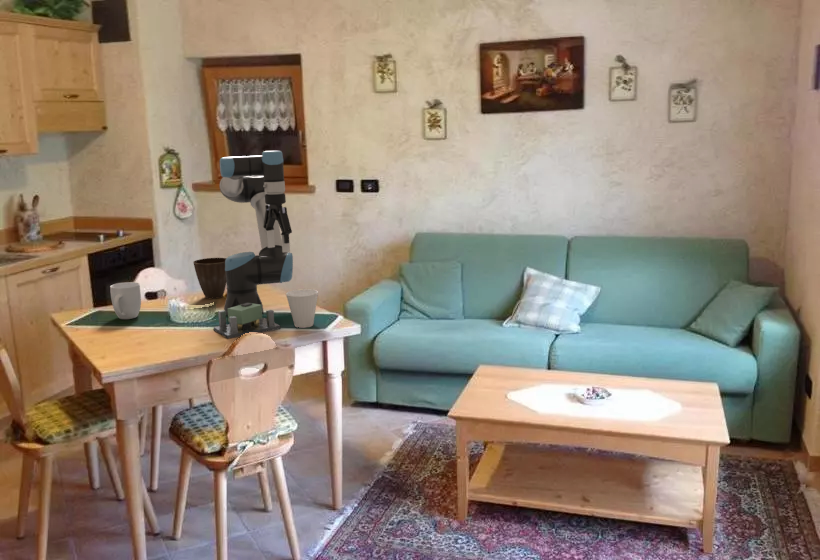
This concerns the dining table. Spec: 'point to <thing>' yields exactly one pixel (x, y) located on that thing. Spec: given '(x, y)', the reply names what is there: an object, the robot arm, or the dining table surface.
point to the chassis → (245, 325)
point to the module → (246, 312)
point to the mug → (126, 299)
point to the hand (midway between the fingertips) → (278, 249)
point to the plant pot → (211, 276)
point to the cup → (302, 306)
